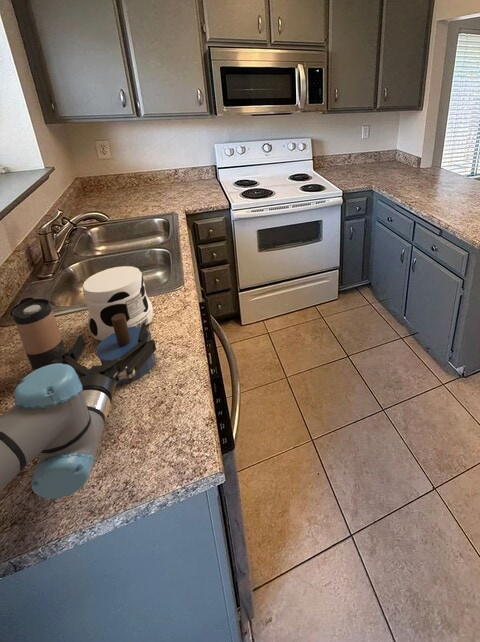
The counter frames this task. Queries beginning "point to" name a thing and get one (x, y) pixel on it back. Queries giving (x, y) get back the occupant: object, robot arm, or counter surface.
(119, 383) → the pot
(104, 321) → the milk container
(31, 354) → the travel mug
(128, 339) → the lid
